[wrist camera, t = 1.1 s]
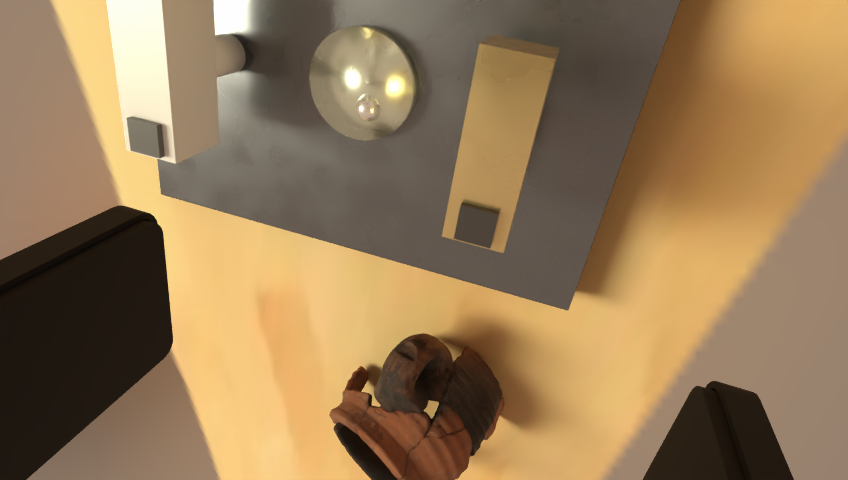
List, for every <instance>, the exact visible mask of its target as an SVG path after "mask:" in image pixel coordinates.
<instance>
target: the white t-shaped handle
mask: <svg viewBox="0 0 848 480" xmlns="http://www.w3.org/2000/svg"><path fill="white" fill-rule="evenodd" d="M106 1H107V9H108V16H109V24H110V31H111V39H112V46H113V53H114V61H115V68H116V76H117V83H118V91H119V98H120V105H121V113H122V120H123V128H124V135H125V143H126V150H127V151H131V152H134V153H138V154H142V155H145V156H149V157H153V158H156V159H160V160H164V161H167V162H171V163H175V164H176V163H178V162H181V161H183V160H185V159H187V158H189V157H192V156H194V155H196V154H198V153H201V152H203V151H205V150H207V149H209V148H212V147H214V146H216V145H218V144H220V141H219V117H218V93H217V78H218V77H221V76H225V75H229V74H232V73H236V72H238V71H240V70H241V69H242V68H243V66H244V64H245V58H246V57H245V51H244V48H243V46H242V44H241V43H240V41H239V40H238V39H237V38H236V37H234V36H233V35H230V34H218V35H215V22H214V0H106Z"/></svg>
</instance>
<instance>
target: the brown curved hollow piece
mask: <svg viewBox="0 0 848 480" xmlns="http://www.w3.org/2000/svg"><path fill="white" fill-rule="evenodd" d="M367 380H368V373H367V372H366V370H365V369H364V368H363V367H362V366H360V367H359V368H358V370H356V371H355V372H353V374H352V377H351V379H350V380H349V381H348V383H347V386H346V388H345V390H344V391H343V400H342V403H341V404H340V405H339V406H338V407H336V408H334V409H332V410H331V412H330V417H331V419H332V420H333V423H335V424H336V425H335V426H334V431H335V433H336V435H337V437H338V438H339V440H340V442H341V443H342V445H343V446H344V447H345V449H346V450H347V452H348V453H349V455H350V456H351V457H352V458H353V459H354V461H355V462H356V463H357V464H358V465H359V466H360V467H361V469H362V470H363V471H364V472H365V473H366V474H367V475H368V476H369V477H370V478H371V480H454V479H457V478H459V476H460V475H461V473H462V472H464V471H465V470H466V469H467V468H468V464H469V457H470V456H473V455H474V454H475V452H476V451H477V450H478V449H479V448H480V444H481V442H482V441H483V440H487V439H488V438H489V437H490V436H491V435H492V434H493V432H494V430H495V427H496V423H497V420H498V417H499V415H500V414H501V412H502V410H503V405H504V402H503V397H502V392H501V389H500V387H499V383H498V381H497V379H496V378H495V377H494V375H493V373H492V371H491V370H490V369H489V367H488V365H487V364H486V363H485V362H484V361H483V360H482V359H481V358H480V357H479V356H478V355H477V354H476V353H475V352H474V351H473V350H471V349H470V348H466V349H465V350H464V351H463V352H462V354H461V356H459V357H458V358H457V359H456V360H455V361H454V362H453V360H452V356H451V353H450V351H449V349H448V348H447V347H446V346H445V345H444V344H443V343H442V342H440V341H439V340H438V339H437V338H436V337H433V336H431V335H429V334H417V335H412V336H410V337H408V338H406V339H404V340H403V341H402V342H400V343H399V344H398V345H397V346H396V347H395V348H394V349H393V350H392V352H391V353H390V354H389V356H388V357H387V359H386V361H385V363H384V365H383V368H382V372H381V374H380V377H379V380H378V382H377V385H376V387H375V390H374V395H375V398H376V400H377V401H378V402H379V403H380V404H381V406H380V407H377V406H372V405H371V404H372V395H371V394H369V393H365V392H361V391H362V389H363V387H364V386H365V384H366V382H367ZM428 400H431V401H437V402H439V405H438V408H437V411H436V412H435V415H434V417H433V418H432V419H431V418H430V417H429V415H428V414H427V413H426V412H424V411H423V410H424V409H425V408H426V407H427V404H428Z"/></svg>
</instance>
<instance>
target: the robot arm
mask: <svg viewBox="0 0 848 480" xmlns="http://www.w3.org/2000/svg"><path fill="white" fill-rule="evenodd" d="M172 343H173V334H172V323H171V313H170V302H169V291H168V281H167V270H166V260H165V249H164V239H163V231H162V228H161V227H160V226H159V225H158V224H157V220H156V219H155V217H154V216H153V215H151V214H150V213H146V212H143V211H139V210H136V209H133V208H129V207H126V206H116V207H113V208H111V209H109V210H106V211H105V212H102V213H101V214H98V215H96V216H94V217H91V218H89V219H87V220H85V221H83V222H81V223H79V224H77V225H74V226H72V227H70V228H68V229H66V230H64V231H61V232H59V233H57V234H55V235H53V236H51V237H49V238H46V239H44V240H42V241H40V242H38V243H36V244H34V245H31V246H29V247H27V248H25V249H23V250H21V251H19V252H16V253H14V254H12V255H10V256H8V257H6V258H4V259H2V260H0V480H26V479H27V478H29V477H30V476H31V475H32V474H33V473H34V472H35V471H37V470H38V469H39V468H40V467H41V466H42V465H43V464H44V463H46V462H47V461H48V460H49V459H50V458H51V457H52V456H54V455H55V454H56V453H57V452H58V451H59V450H60V449H61V448H63V447H64V446H65V445H66V444H67V443H68V442H70V441H71V440H72V439H73V438H74V437H75V436H76V435H77V434H79V433H80V432H81V431H82V430H83V429H84V428H85V427H87V425H89V424H90V423H91V422H92V421H93V420H94V419H96V418H97V417H98V416H99V415H100V414H101V413H102V412H104V411H105V410H106V409H107V408H108V407H109V406H110V405H111V404H113V403H114V402H115V401H116V400H117V399H118V398H119V397H121V396H122V395H123V394H124V393H125V392H126V391H127V390H129V389H130V388H131V387H132V386H133V385H134V384H135V383H137V382H138V381H139V380H140V379H141V378H142V377H143V376H144V375H146V374H147V373H148V372H149V371H150V370H151V369H152V368H154V367H155V366H156V365H157V364H158V363H159V362H160V361H161V360H163V359H164V358H165V357H166V355H167V354H168V353H169V351H170V349H171V347H172ZM643 480H794V479H793V477H792V474H791V472H790V469H789V467H788V465H787V462H786V460H785V457H784V455H783V453H782V450H781V448H780V446H779V443H778V441H777V439H776V436H775V434H774V432H773V429H772V427H771V424H770V422H769V420H768V417H767V415H766V412H765V410H764V408H763V406H762V403H761V400H760V399H759V397H758V395H757V394H755V393H754V392H751V391H748V390H744V389H741V388H737V387H734V386H730V385H727V384H724V383H720V382H717V381H712V382H710V383H709V384H707V386H706V388H703V387H700V386H696V387H694V388H693V389H692V391H691V392H690V394H689V396H688V398H687V400H686V401H685V403H684V405H683V407H682V409H681V411H680V413H679V414H678V416H677V418H676V420H675V422H674V423H673V425H672V427H671V429H670V431H669V432H668V434H667V436H666V438H665V440H664V441H663V443H662V445H661V447H660V449H659V451H658V452H657V454H656V456H655V458H654V460H653V462H652V463H651V465H650V467H649V469H648V471H647V472H646V474H645V476H644V478H643Z"/></svg>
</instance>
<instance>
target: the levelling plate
mask: <svg viewBox="0 0 848 480" xmlns="http://www.w3.org/2000/svg"><path fill="white" fill-rule="evenodd" d="M679 3H680V0H214V22H215V35H218V34H230V35H233V36H234V37H236V38H237V39H238V40H239V41H240V43H241V44H242V46H243V48H244V51H245V57H246V58H245V64H244V66H243V68H242V69H241V70H240V71H238V72H236V73H232V74H229V75H225V76H221V77H218V78H217V93H218V117H219V141H220V144H218V145H216V146H214V147H212V148H209V149H207V150H205V151H203V152H201V153H198V154H196V155H194V156H192V157H189V158H187V159H185V160H183V161H181V162H178V163H176V164H175V163H171V162H167V161H164V160H160V159H158V169H159V178H160V188H161V194H162V195H165V196H169V197H172V198H176V199H179V200H183V201H186V202H190V203H193V204H197V205H200V206H204V207H207V208H211V209H214V210H218V211H221V212H225V213H228V214H232V215H235V216H239V217H242V218H246V219H249V220H253V221H256V222H260V223H263V224H267V225H270V226H274V227H277V228H281V229H284V230H288V231H291V232H295V233H298V234H302V235H305V236H309V237H312V238H316V239H319V240H323V241H326V242H330V243H333V244H337V245H340V246H344V247H347V248H351V249H354V250H358V251H361V252H365V253H368V254H372V255H375V256H379V257H382V258H386V259H389V260H393V261H396V262H400V263H403V264H407V265H410V266H414V267H417V268H421V269H424V270H428V271H431V272H435V273H438V274H442V275H445V276H449V277H452V278H456V279H459V280H463V281H466V282H470V283H473V284H477V285H480V286H484V287H487V288H491V289H494V290H498V291H501V292H505V293H508V294H512V295H515V296H519V297H522V298H526V299H529V300H533V301H536V302H540V303H543V304H547V305H550V306H554V307H557V308H561V309H564V310H569V307H570V304H571V301H572V299H573V296H574V293H575V290H576V288H577V285H578V282H579V279H580V277H581V274H582V271H583V268H584V266H585V263H586V260H587V257H588V254H589V252H590V249H591V246H592V243H593V241H594V238H595V235H596V232H597V230H598V227H599V224H600V221H601V218H602V216H603V213H604V210H605V207H606V205H607V202H608V199H609V196H610V194H611V191H612V188H613V185H614V183H615V180H616V177H617V174H618V171H619V169H620V166H621V163H622V160H623V158H624V155H625V152H626V149H627V147H628V144H629V141H630V138H631V135H632V133H633V130H634V127H635V124H636V122H637V119H638V116H639V113H640V111H641V108H642V105H643V102H644V100H645V97H646V94H647V91H648V88H649V86H650V83H651V80H652V77H653V75H654V72H655V69H656V66H657V64H658V61H659V58H660V55H661V52H662V50H663V47H664V44H665V41H666V39H667V36H668V33H669V30H670V28H671V25H672V22H673V19H674V17H675V14H676V11H677V8H678V5H679ZM492 35H499V36H504V37H509V38H514V39H519V40H524V41H529V42H534V43H539V44H544V45H549V46H554V47H559V48H560V49H559V53H558V56H557V60H556V64H555V68H554V71H553V75H552V79H551V83H550V86H549V90H548V94H547V97H546V101H545V105H544V109H543V112H542V116H541V120H540V123H539V127H538V131H537V135H536V138H535V142H534V146H533V150H532V153H531V157H530V161H529V164H528V168H527V172H526V176H525V179H524V183H523V187H522V191H521V194H520V198H519V202H518V205H517V209H516V213H515V217H514V220H513V224H512V227H511V230H510V234H509V237H508V240H507V243H506V247H505V250H504V253H501V252H497V251H493V250H490V249H486V248H482V247H479V246H475V245H471V244H468V243H464V242H460V241H457V240H453V239H449V238H446V237H442V233H443V227H444V222H445V217H446V212H447V207H448V202H449V197H450V192H451V186H452V181H453V176H454V171H455V166H456V161H457V156H458V151H459V145H460V140H461V135H462V130H463V125H464V120H465V115H466V110H467V104H468V99H469V94H470V89H471V84H472V79H473V74H474V69H475V63H476V58H477V53H478V48H479V43H481V42H483V41H484V40H486V39H488V38H489V37H491V36H492Z"/></svg>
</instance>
